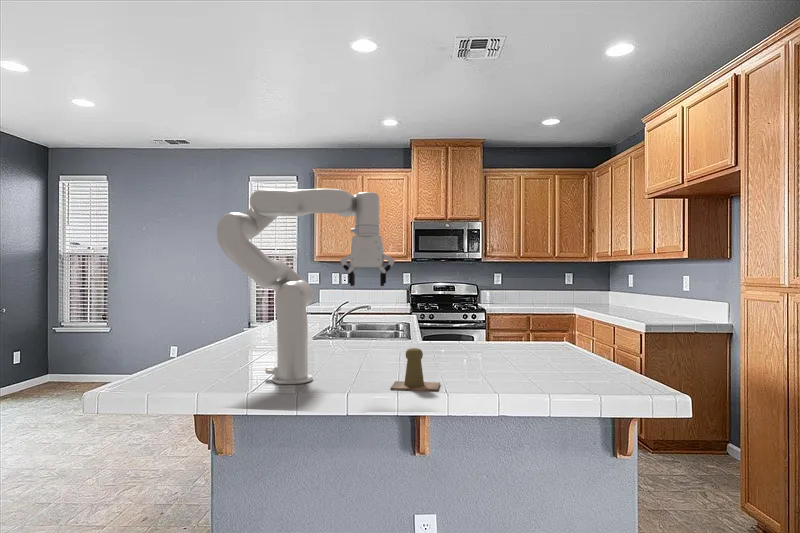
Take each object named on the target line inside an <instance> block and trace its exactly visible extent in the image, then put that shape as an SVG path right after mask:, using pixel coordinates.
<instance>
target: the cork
mask: <svg viewBox="0 0 800 533" xmlns="http://www.w3.org/2000/svg"><path fill="white" fill-rule="evenodd" d="M423 355H424V353H423V351H422V349H420V348H418V347H416V348H415V347H410V348H408V349H406V351H405V357H406V369H405V376H404V381H405V383H404V386H407V387H422V386H424V382H425V381H424V374H423V367H422V366H423V364H422V359H423Z"/></svg>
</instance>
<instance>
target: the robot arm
mask: <svg viewBox="0 0 800 533" xmlns="http://www.w3.org/2000/svg"><path fill="white" fill-rule="evenodd" d="M249 206H250V208H249V209H248V210H247V211H245V212H244V213H242V212H235V211H234V212H233V211H231V212H227V213H226V214H224V215H222V216H221V218H220V219H219V220H218V221H217V222H218V223H217V225H216V239H217V242H218V245H219V247H220V249H221V251H222V252H223V253H224V254H225V256H227V257H228V259H229V260H231V261H232V262H233V263H234V264H235V265H237V267H239V269H240V270H241V271H242V272H244V273H245V275H247V276H248V277H249V278H250V279H252V280H253V281H254V283H256V285H257V286H259V287H261V288H263V289H265V290H266V289H268V290H269V289H272V290H273V291H274V292H275V298H274V301H275V302H274V305H275V312H276V333H277V336H276V337H277V340H276V341H277V342H276V346H277V347H276V348H277V350H276V352H277V353H276V356H277V359H276V362H277V364H276V366H274V367H272V366H266V367H265V369H264V370H265V374H267V375H271V374H272V375H273V377H272V379H271V380H272V383H275V384H278V385H302V384H305V383H308V382H312V380H313V375H312V374H309V373H308V371H309V370H308V369H309V368H308V366H309V365H308V364H309V363H308V351H309V350H308V349H309V348H308V345H309V344H308V337H309V336H308V334H309V333H308V314H307V307H309V306H310V305H311V304H312V302H313V300H314V290H313V288H312V286H311V285H310V284H309V283H308V282H307V280H305V279H304V278H303V277H301V275H299V274H298V273H297V272H296V271H295V270H294V269H293V268H292V267H290V266H289V265H288V264H286V263H285V262H283V261H281V260H279V259H274V258H271V257H269V256H267V255H266V254H265V253H264V252H263V251H262V250H261V249H260V248H259V247H257V245H255V244H254V243H252V242H251V241H250V240H252V239H254V238H255V237H257V236H258V235H259V234H260V233H261V232H262V231H263V230H264V229H266V228H267V227H268V226H269V225H270V224H271V223H273V222H274V221H275V220H276V219H277V218H278V217H304V216H306V215H309V214H336V215H338V216H340V217H343V218H344V217H345V218H347V217H352V216H353V217H354V216H355V218H354V219H355V224H354V227H353V228H350V232H351V233H353V234H355V235H353V236H352V238H351V246H350V253H349V255H346V256H345V257H343V258H341V259H340V261H339V262H340V263H341V265H342V268H343V269H344V270H345V271H346V272H347V274H348V284H349V286H350V287H354V286H355V285H356V283H355V281H356V280H355V279H356V277H355V275H356V273H355V272H354V271H356V269H357V268H378V269H379V270H380V271H381V272H380V275H379V276H380V277H379V278H380V279H379V281H380V283H379V284H380V287H384V286H385V284H387V273H388V272H389V271H390V270H391V269H392V267H393V266H394V263H395V258H393V257H391V256H390V255H387V254H386V253H384V245H383V238H382V236H381V235H380V196H379V194H378V193H376V192H373V191H371V192H370V191H364V192H363V191H362V192H358V193H357V194H351V193H349V192H348V191H347V190H343V189H340V188H338V189H337V188H307V189H285V188H284V189H282V188H280V189H278V188H259V189H256V190H254V191H253V192H252V194H251V196H249ZM349 260H350V266H349V265H348V263H347V262H348V261H349ZM385 260H386V261H388V263H387V265H386V266H384V264H385V263H384V261H385Z"/></svg>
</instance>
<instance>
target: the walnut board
mask: <svg viewBox="0 0 800 533" xmlns="http://www.w3.org/2000/svg"><path fill="white" fill-rule="evenodd" d="M404 383H405V380H403V381H402V380H401V381H399V380H397V381H396V380H395V381H394V382H393V384H392V385H391V386H390V391H411V390H412V392H413V391H415V392H416V391H418V392H439V389H440V386H441V382H435V381H433V382H432V381H431V382H430V381H424V386H422V387H407V386H404Z"/></svg>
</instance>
